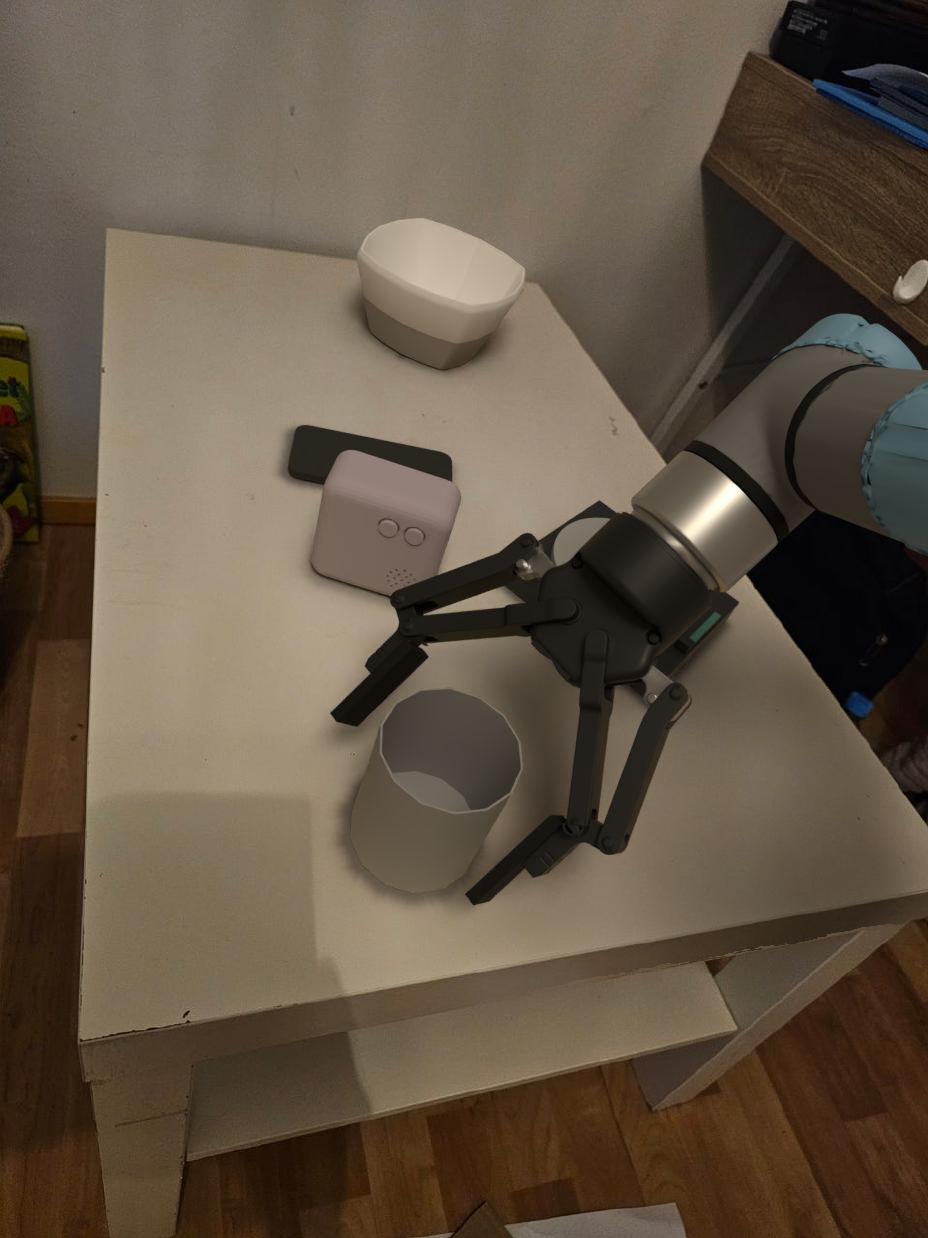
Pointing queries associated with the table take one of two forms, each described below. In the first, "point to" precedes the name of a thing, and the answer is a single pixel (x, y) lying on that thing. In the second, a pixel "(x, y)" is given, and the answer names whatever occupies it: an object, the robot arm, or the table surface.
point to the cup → (433, 788)
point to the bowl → (435, 289)
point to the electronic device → (382, 523)
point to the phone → (323, 446)
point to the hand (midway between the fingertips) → (406, 804)
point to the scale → (575, 535)
